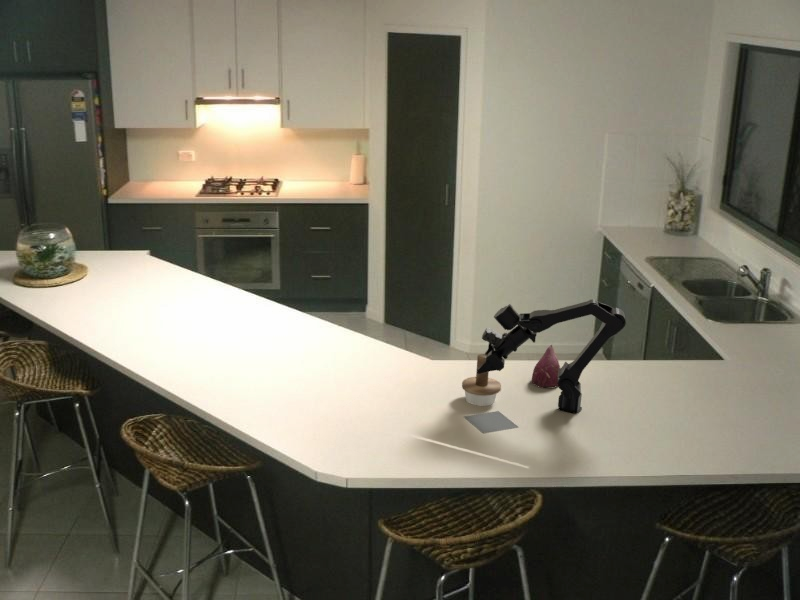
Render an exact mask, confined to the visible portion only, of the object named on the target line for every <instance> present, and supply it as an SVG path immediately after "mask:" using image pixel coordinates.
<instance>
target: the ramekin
mask: <svg viewBox="0 0 800 600" xmlns="http://www.w3.org/2000/svg"><path fill="white" fill-rule="evenodd" d="M464 393H465V394H464V395H465V396H464V397H465V401H466V402H467V403H469V404H470V405H473V406H481V407H484V406H491V405H493V404H494V403H495V401H496V397H497V394H498V393H496V394H493V395H475V394H471V393H468V392H466V391H465V390H464Z"/></svg>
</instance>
